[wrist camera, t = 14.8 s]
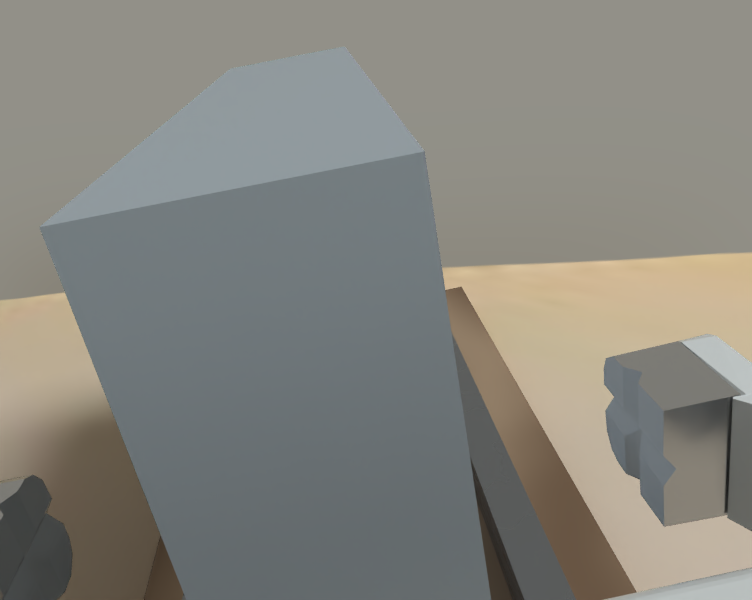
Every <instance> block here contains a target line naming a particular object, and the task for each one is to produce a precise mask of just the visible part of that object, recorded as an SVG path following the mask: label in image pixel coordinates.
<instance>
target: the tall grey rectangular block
mask: <svg viewBox="0 0 752 600" xmlns="http://www.w3.org/2000/svg"><path fill="white" fill-rule="evenodd" d="M40 230H41V232H42V235H43V238H44V240H45V242H46V245H47V248H48V250H49V253H50V255H51V258H52V260H53V263H54V265H55V268H56V270H57V273H58V276H59V278H60V281H61V283H62V286H63V288H64V291H65V293H66V296H67V298H68V301H69V304H70V306H71V309H72V311H73V314H74V316H75V319H76V321H77V324H78V326H79V329H80V331H81V334H82V337H83V339H84V342H85V344H86V347H87V349H88V352H89V354H90V357H91V359H92V362H93V364H94V367H95V370H96V372H97V375H98V377H99V380H100V382H101V385H102V387H103V390H104V392H105V395H106V397H107V400H108V403H109V405H110V408H111V410H112V413H113V415H114V418H115V420H116V423H117V425H118V428H119V430H120V433H121V436H122V438H123V441H124V443H125V446H126V448H127V451H128V453H129V456H130V458H131V461H132V463H133V466H134V469H135V471H136V474H137V476H138V479H139V481H140V484H141V486H142V489H143V491H144V494H145V496H146V499H147V502H148V504H149V507H150V509H151V512H152V514H153V517H154V519H155V522H156V524H157V527H158V529H159V532H160V535H161V537H162V540H163V542H164V545H165V547H166V550H167V552H168V555H169V557H170V560H171V562H172V565H173V568H174V570H175V573H176V575H177V578H178V580H179V583H180V585H181V588H182V590H183V593H184V595H185V598H186V600H491V595H490V588H489V581H488V574H487V568H486V561H485V554H484V548H483V541H482V534H481V527H480V521H479V514H478V507H477V501H476V494H475V487H474V480H473V474H472V467H471V460H470V454H469V447H468V440H467V433H466V427H465V420H464V413H463V407H462V400H461V393H460V386H459V380H458V373H457V366H456V360H455V353H454V346H453V339H452V333H451V326H450V319H449V312H448V306H447V299H446V292H445V286H444V279H443V272H442V265H441V259H440V252H439V245H438V239H437V232H436V225H435V219H434V212H433V206H432V198H431V192H430V185H429V179H428V172H427V165H426V158H425V151H424V150H423V149H422V147H421V146H420V145H419V144H418V142H417V141H416V140H415V138H414V137H413V136H412V134H411V133H410V132H409V130H408V129H407V128H406V127H405V125H404V124H403V122H402V121H401V120H400V119H399V117H398V116H397V115H396V113H395V112H394V111H393V109H392V108H391V107H390V105H389V104H388V103H387V101H386V100H385V99H384V98H383V96H382V95H381V94H380V92H379V91H378V90H377V88H376V87H375V86H374V84H373V83H372V82H371V80H370V79H369V78H368V77H367V75H366V74H365V73H364V71H363V70H362V69H361V67H360V66H359V65H358V63H357V62H356V61H355V60H354V58H353V57H352V55H351V54H350V53H349V52H348V50H347V49H346V48H345V47H340V48H334V49H329V50H324V51H319V52H314V53H309V54H304V55H298V56H294V57H288V58H284V59H279V60H273V61H268V62H263V63H258V64H253V65H247V66H242V67H237V68H232V69H230V70H228V71H227V72H226V73H225V74H223V75H222V76H221V77H220V78H219V79H218V80H216V81H215V82H214V83H213V84H212V85H210V86H209V87H208V88H207V89H205V90H204V91H203V92H202V93H201V94H199V96H197V97H196V98H195V99H193V100H192V101H191V102H190V103H189V104H187V105H186V106H185V107H184V108H182V110H180V111H179V112H178V113H176V114H175V115H174V116H173V117H172V118H170V119H169V120H168V121H167V122H166V123H165V124H163V125H162V126H161V127H160V128H159V129H157V130H156V131H155V132H154V133H152V134H151V135H150V136H149V137H148V138H146V139H145V140H144V141H143V142H142V143H140V144H139V145H138V146H137V147H136V148H135V149H133V150H132V151H131V152H130V153H128V154H127V155H126V156H125V157H124V158H122V159H121V160H120V161H119V162H117V163H116V164H115V165H114V166H113V167H111V168H110V169H109V170H108V171H107V172H106V173H104V174H103V175H102V176H101V177H99V178H98V179H97V180H96V181H94V182H93V183H92V184H91V185H90V186H88V187H87V188H86V189H85V190H84V191H82V192H81V193H80V194H79V195H78V196H76V197H75V198H74V199H73V200H72V201H70V202H69V203H68V204H67V205H66V206H64V207H63V208H62V209H61V210H60V211H58V212H57V213H56V214H55V215H53V216H52V217H51V218H50V219H49V220H47V221H46V222H45V223H44V224H43V225H41V226H40Z"/></svg>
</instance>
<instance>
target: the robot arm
mask: <svg viewBox="0 0 752 600" xmlns="http://www.w3.org/2000/svg"><path fill="white" fill-rule="evenodd" d="M604 385H605V386H606V387H607V388H608V389H609V391H610V392H611V393H612V394H613V396H614V398H613V400H612V401H611V403H610V404H609V406H608V408H607V409H606V423H607V432H608V436H609V440H610V443H611V447H612V450H613V452H614V454H615V456H616V459H617V461H618V462H619V464H620V465H621V467H622V468H623V470H624V471H625V473H626V474H628V475H631V476H633V477H635V478H638V479H640V490H641V495H642V497H643V498H644V499H645V501H646V502H647V504H648V505H649V506H650V508H651V509H652V510H653V512H654V513H655V515H656V516H657V517H658V519H659V520H660V521H661V523H662V524H663V526H664V527H665V526H671V525H676V524H681V523H687V522H692V521H698V520H703V519H708V518H714V517H719V516H725V515H728V517H727V518H729V519H730V520H732V521H734V522H736V523H738V524H740V525H741V526H743V527H745V528H747V529H749V530H750V531H752V363H751V362H750V361H748V360H747V359H746V358H744V357H743V356H742V355H741V354H739V353H738V352H737V351H735V350H734V349H733V348H731V347H730V346H729V345H728V344H726V343H725V342H724V341H722V340H721V339H720V338H718V337H717V336H715V335H710V334H705V335H701V336H697V337H693V338H689V339H685V340H681V341H677V342H673V343H669V344H664V345H660V346H656V347H652V348H647V349H643V350H639V351H634V352H630V353H626V354H621V355H617V356H613V357H609V358H606V361H605V366H604ZM51 499H52V498H51V496H50V494H49V492H48V490H47V488H46V486H45V484H44V482H43V480H42V479H40V478H38V477H36V476H34V475H30V476H24V477H19V478H14V479H8V480H3V481H0V600H57V599H58V598H59V597H60V596H61V595H62V594H63V593H64V592H65V590H66V588H67V585H68V582H69V579H70V577H71V569H72V549H71V545H70V540H69V536H68V534H67V532H66V529H65V527H64V525H63V523H61V522H60V521H58V520H56V519H55V518H53V517H52V516H50V515H48V514H47V510H48V508H49V505H50V502H51ZM604 600H752V568H747V569H742V570H738V571H733V572H729V573H724V574H719V575H715V576H710V577H706V578H701V579H696V580H692V581H687V582H682V583H678V584H673V585H669V586H664V587H659V588H655V589H650V590H646V591H641V592H636V593H632V594H627V595H623V596H618V597H613V598H609V599H604Z"/></svg>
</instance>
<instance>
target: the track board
mask: <svg viewBox="0 0 752 600" xmlns="http://www.w3.org/2000/svg"><path fill="white" fill-rule="evenodd" d="M445 292H446V299H447V306H448V312H449V319H450V326H451V333H452V339H453V346H454V353H455V360H456V366H457V373H458V380H459V386H460V393H461V400H462V407H463V413H464V420H465V427H466V433H467V440H468V447H469V454H470V460H471V467H472V474H473V480H474V487H475V494H476V501H477V507H478V514H479V521H480V527H481V534H482V541H483V548H484V554H485V561H486V568H487V574H488V581H489V588H490V595H491V600H604V599H609V598H613V597H618V596H623V595H627V594H632V593H636V590H635V589H634V587H633V585H632V583H631V582H630V580H629V578H628V576H627V575H626V573H625V571H624V569H623V568H622V566H621V564H620V562H619V561H618V559H617V557H616V555H615V554H614V552H613V550H612V549H611V547H610V545H609V543H608V542H607V540H606V538H605V536H604V535H603V533H602V531H601V529H600V528H599V526H598V524H597V522H596V521H595V519H594V517H593V515H592V514H591V512H590V510H589V508H588V507H587V505H586V503H585V501H584V500H583V498H582V496H581V494H580V493H579V491H578V489H577V488H576V486H575V484H574V482H573V481H572V479H571V477H570V475H569V474H568V472H567V470H566V468H565V467H564V465H563V463H562V461H561V460H560V458H559V456H558V454H557V453H556V451H555V449H554V447H553V446H552V444H551V442H550V440H549V439H548V437H547V435H546V433H545V432H544V430H543V428H542V426H541V425H540V423H539V421H538V420H537V418H536V416H535V414H534V413H533V411H532V409H531V407H530V406H529V404H528V402H527V400H526V399H525V397H524V395H523V393H522V392H521V390H520V388H519V386H518V385H517V383H516V381H515V379H514V378H513V376H512V374H511V372H510V371H509V369H508V367H507V365H506V364H505V362H504V360H503V359H502V357H501V355H500V353H499V352H498V350H497V348H496V346H495V345H494V343H493V341H492V339H491V338H490V336H489V334H488V332H487V331H486V329H485V327H484V325H483V324H482V322H481V320H480V318H479V317H478V315H477V313H476V311H475V310H474V308H473V306H472V304H471V303H470V301H469V299H468V298H467V296H466V294H465V292H464V291H463V289H462V287H458V288H453V289H448V290H445ZM144 600H186V598H185V595H184V593H183V590H182V588H181V585H180V583H179V580H178V578H177V575H176V573H175V570H174V568H173V565H172V562H171V560H170V557H169V555H168V552H167V550H166V547H165V545H164V542H163V540H162V537H161V536H160V540H159V543H158V547H157V551H156V555H155V559H154V563H153V566H152V570H151V574H150V578H149V582H148V586H147V589H146V593H145V597H144Z"/></svg>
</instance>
